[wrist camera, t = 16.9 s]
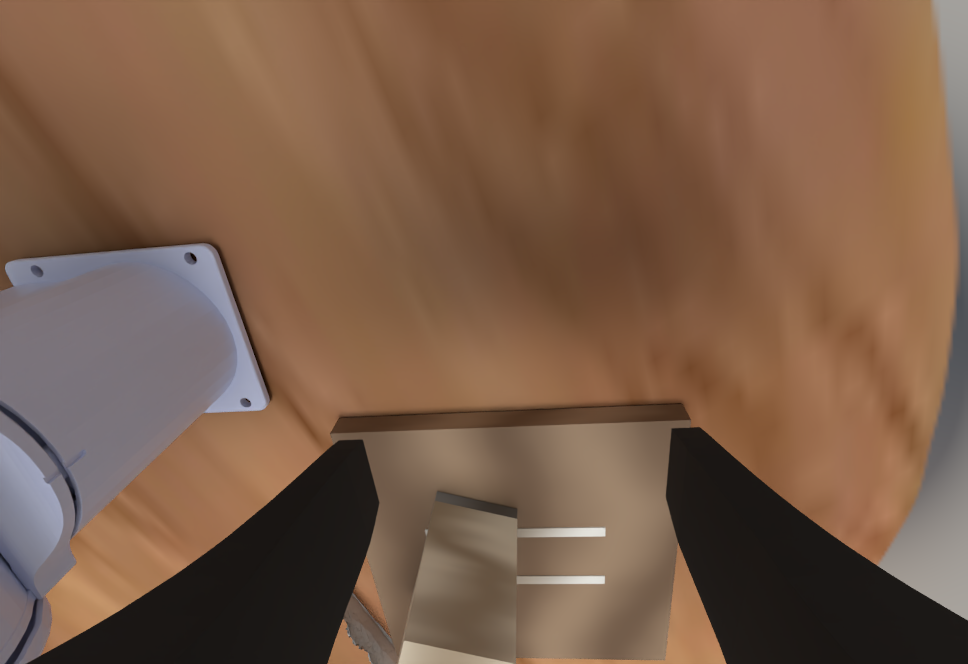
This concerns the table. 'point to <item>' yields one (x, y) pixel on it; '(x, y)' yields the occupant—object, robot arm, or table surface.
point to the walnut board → (539, 516)
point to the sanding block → (464, 586)
